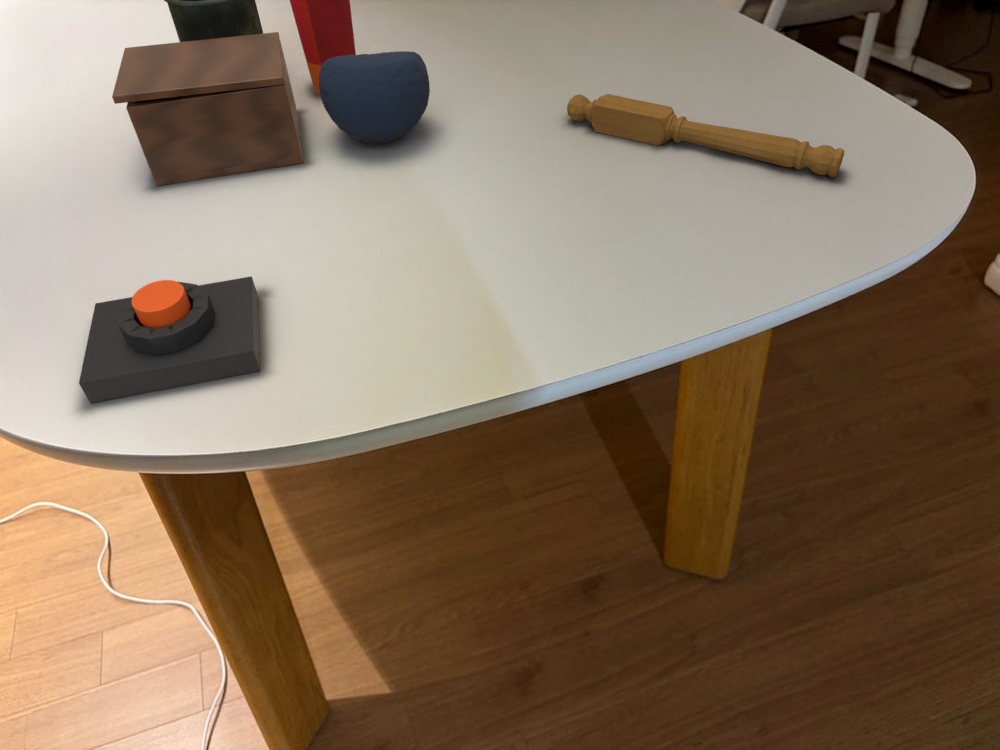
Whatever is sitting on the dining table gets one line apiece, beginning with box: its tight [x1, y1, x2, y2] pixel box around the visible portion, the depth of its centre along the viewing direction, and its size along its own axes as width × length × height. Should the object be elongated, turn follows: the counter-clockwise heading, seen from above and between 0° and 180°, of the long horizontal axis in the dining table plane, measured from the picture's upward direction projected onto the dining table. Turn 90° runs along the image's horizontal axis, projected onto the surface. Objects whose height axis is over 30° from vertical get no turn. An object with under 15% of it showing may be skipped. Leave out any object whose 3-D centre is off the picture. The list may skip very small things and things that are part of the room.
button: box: [131, 279, 191, 328], centre depth 63 cm, size 4×4×2 cm
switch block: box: [78, 276, 261, 404], centre depth 65 cm, size 13×10×4 cm
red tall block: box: [289, 0, 357, 96], centre depth 96 cm, size 8×8×14 cm
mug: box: [163, 0, 264, 42], centre depth 100 cm, size 11×15×12 cm
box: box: [125, 40, 304, 187], centre depth 88 cm, size 16×13×9 cm
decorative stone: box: [319, 50, 431, 145], centre depth 88 cm, size 12×12×10 cm
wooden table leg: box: [566, 93, 845, 178], centre depth 85 cm, size 3×3×30 cm
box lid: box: [111, 31, 284, 104], centre depth 84 cm, size 16×13×1 cm
